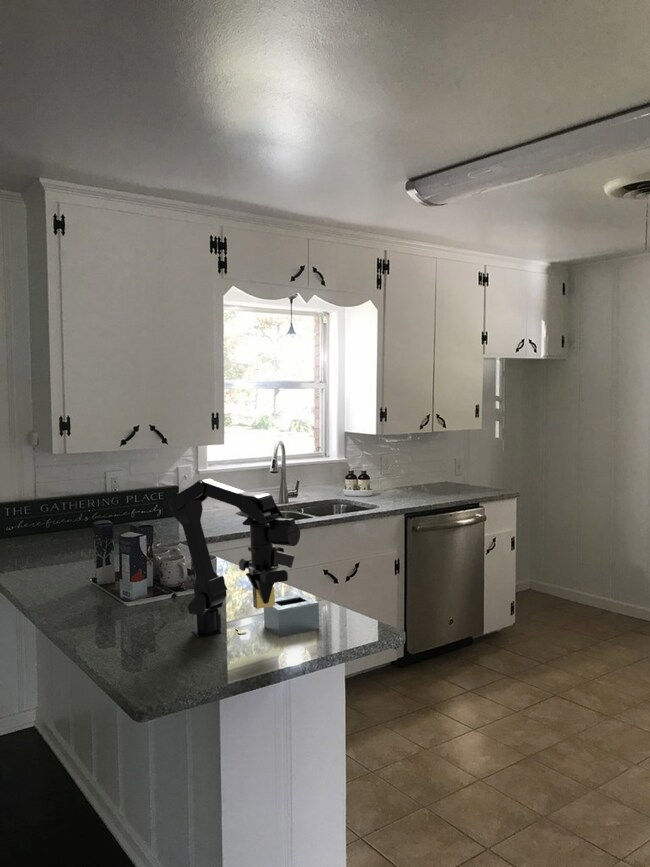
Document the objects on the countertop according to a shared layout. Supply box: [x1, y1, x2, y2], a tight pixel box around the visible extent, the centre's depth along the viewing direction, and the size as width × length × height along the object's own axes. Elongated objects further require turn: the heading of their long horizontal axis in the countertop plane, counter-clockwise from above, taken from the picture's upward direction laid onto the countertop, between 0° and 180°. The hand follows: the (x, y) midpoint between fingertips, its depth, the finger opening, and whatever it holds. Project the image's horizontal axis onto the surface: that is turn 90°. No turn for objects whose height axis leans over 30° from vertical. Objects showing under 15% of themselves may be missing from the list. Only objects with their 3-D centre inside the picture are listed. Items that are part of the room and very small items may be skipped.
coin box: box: [263, 593, 320, 638], centre depth 202 cm, size 12×10×7 cm
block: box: [252, 585, 276, 610], centre depth 190 cm, size 5×2×5 cm, turn 118°
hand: (264, 602), depth 190 cm, fingers closed on block, 2 cm apart
